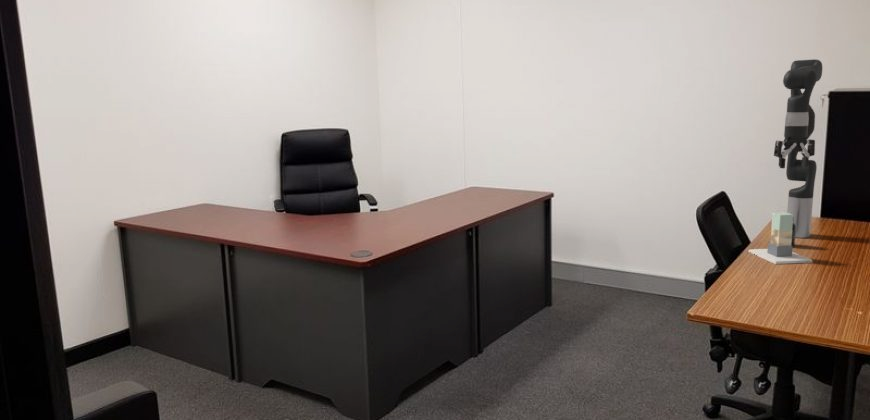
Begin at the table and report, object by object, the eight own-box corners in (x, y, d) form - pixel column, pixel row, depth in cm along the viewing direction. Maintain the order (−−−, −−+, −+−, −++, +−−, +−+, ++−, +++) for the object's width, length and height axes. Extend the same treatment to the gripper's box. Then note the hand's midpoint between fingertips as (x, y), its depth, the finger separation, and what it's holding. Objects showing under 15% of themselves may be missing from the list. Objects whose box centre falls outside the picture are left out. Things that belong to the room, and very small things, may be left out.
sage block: (771, 228, 237) (772, 212, 236) (783, 227, 237) (785, 212, 236) (779, 230, 232) (780, 215, 231) (792, 230, 232) (793, 214, 231)
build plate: (748, 251, 245) (749, 239, 244) (782, 250, 246) (783, 238, 245) (775, 264, 227) (776, 250, 227) (812, 262, 228) (813, 249, 227)
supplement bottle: (790, 243, 257) (792, 215, 255) (797, 247, 250) (800, 218, 248) (772, 243, 258) (774, 215, 255) (780, 247, 251) (782, 218, 249)
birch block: (770, 243, 238) (771, 227, 237) (783, 242, 238) (784, 227, 237) (778, 246, 233) (779, 230, 232) (791, 245, 233) (792, 230, 232)
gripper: (808, 123, 234) (805, 166, 237) (771, 124, 233) (768, 167, 236) (821, 124, 226) (817, 168, 229) (784, 125, 226) (780, 169, 228)
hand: (793, 167), depth 232 cm, fingers open, 8 cm apart
